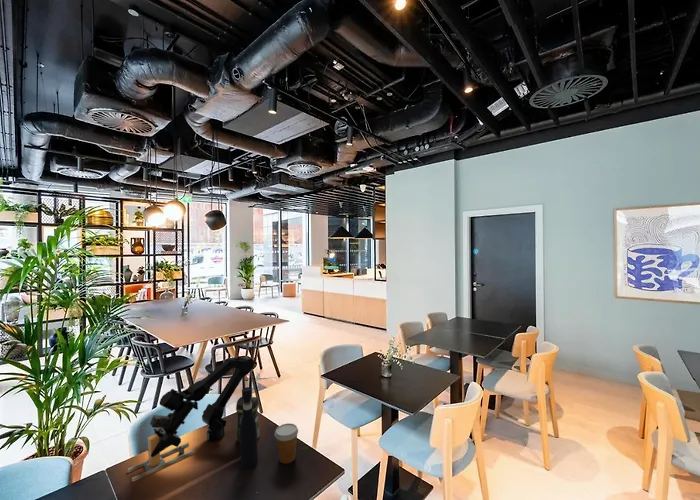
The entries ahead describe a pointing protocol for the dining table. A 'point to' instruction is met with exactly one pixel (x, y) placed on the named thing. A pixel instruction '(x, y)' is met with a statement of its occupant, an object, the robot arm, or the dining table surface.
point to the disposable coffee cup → (286, 442)
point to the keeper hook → (181, 450)
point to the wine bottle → (248, 432)
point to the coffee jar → (240, 413)
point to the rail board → (161, 464)
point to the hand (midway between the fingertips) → (150, 454)
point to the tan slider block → (154, 460)
